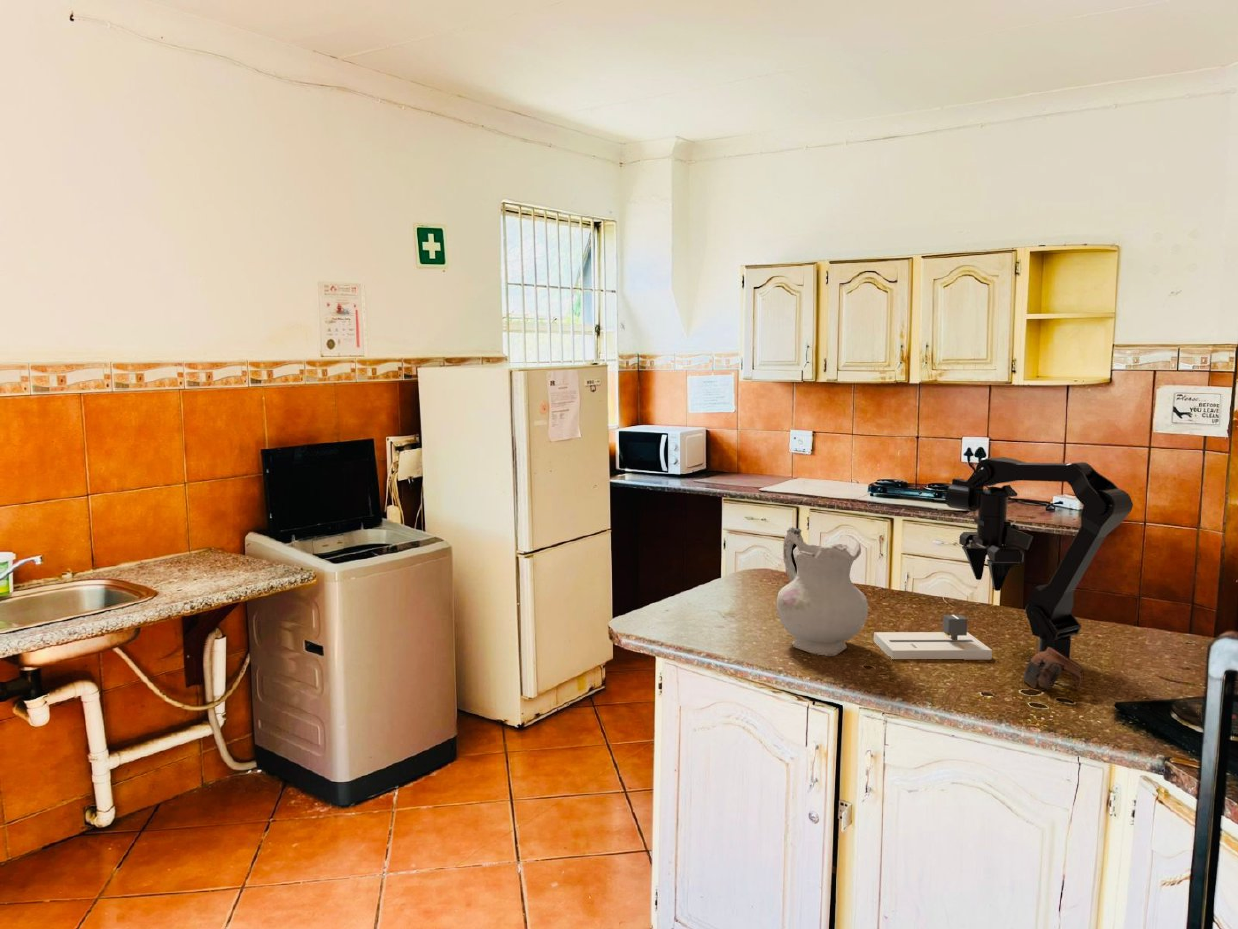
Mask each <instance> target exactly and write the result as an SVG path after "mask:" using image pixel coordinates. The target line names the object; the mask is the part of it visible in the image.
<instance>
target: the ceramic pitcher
mask: <svg viewBox="0 0 1238 929" xmlns="http://www.w3.org/2000/svg"><path fill="white" fill-rule="evenodd" d="M802 531H803V530H802V529H800V528H795V527H788V529H787V530H786V534H785V536H784V540H783V544H782V545H783V547H782V549H783V550H782V552H783V553H782V555H783V563H784V567H785V573H786V575H787V577H788V578H789V581H790V582H789V583H787V584H786V585H785V586H783V587H782V588H781V589H780V590H779V591H778V594H777V598H776V609H777V615H778V618H779V621H780V623H781V625H782V626H783V627H784V629H785V630H786V631H787V632H788V633H789V634H790V635H791V636H793V637H795V639H794V640H795V641H794V640H793V641H792V644H793V646H792V645H791V646H792V647H793V648H796V649H798V650H801V651H804V652H807V653H810V654H813V655H816V654H817V655H816V656H819V655H825V656H824V657H835V656H837V655H839V653H842V652H843V651H844V650H846V649H847V648H848V647H847V644H846V641H848V640H850V639H852V638H854V637H855V636H856V635H857V634H858V633H860V631H861V630H862V629H863V627H864V625H865V624H866V620H867V616H868V614H869V603H868V599H867V596H866V595H865V594H864V593H863V592H862V591H861V590H860V589H859V588H858V587H857V586H856V585H855V584H853V582H852V580H851V575H850V574H851V568H852V565H853V563H854V561H857V559H858V557H860V555H861V554H862V547H861V543H859V542H857V543H856V544H855V545H854V547H853V548H850V547H849V546H848V544H843V543H842V544H840V543H839V544H833V545H829V546H821V545H817V544H816V545H815V544H808V543H806V542H805V541H804V538H803V536H802V534H801V533H802ZM794 545H796V546H795V548H793V546H794ZM792 549H793V550H792ZM792 554H793V558H794V561H795V564H796V567H795V566H794V563H793V562H794V561H793V559H792Z"/></svg>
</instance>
